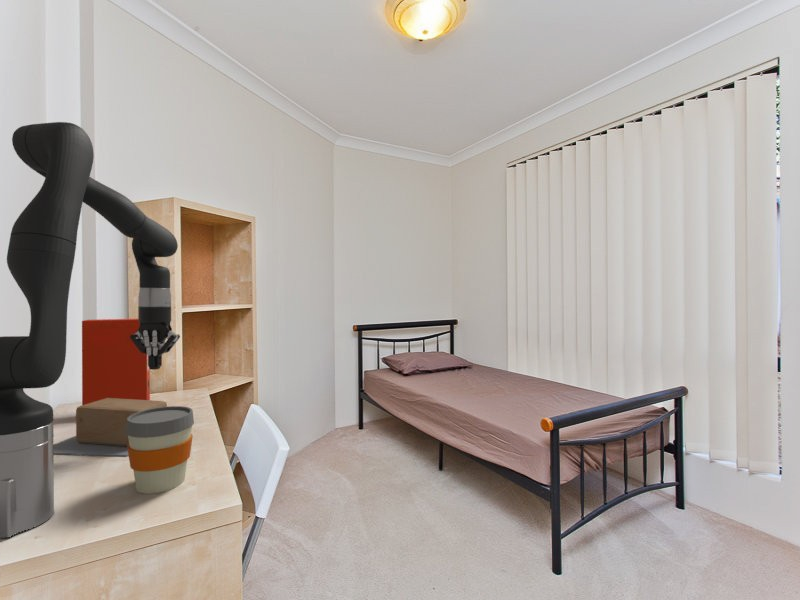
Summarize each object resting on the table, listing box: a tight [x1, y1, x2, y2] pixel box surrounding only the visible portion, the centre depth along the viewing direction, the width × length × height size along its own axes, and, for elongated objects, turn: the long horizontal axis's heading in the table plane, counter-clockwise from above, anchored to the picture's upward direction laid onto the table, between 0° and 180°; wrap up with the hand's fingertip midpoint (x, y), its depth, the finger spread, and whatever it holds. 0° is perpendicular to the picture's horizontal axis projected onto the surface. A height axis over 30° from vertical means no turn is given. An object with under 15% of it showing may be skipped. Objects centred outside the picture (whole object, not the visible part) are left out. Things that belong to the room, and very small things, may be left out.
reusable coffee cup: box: [126, 405, 195, 495], centre depth 84 cm, size 13×13×15 cm
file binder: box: [81, 318, 151, 406], centre depth 131 cm, size 8×17×32 cm, turn 116°
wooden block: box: [75, 398, 168, 446], centre depth 108 cm, size 10×10×20 cm
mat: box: [53, 435, 129, 457], centre depth 106 cm, size 16×24×1 cm, turn 87°
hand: (155, 369), depth 105 cm, fingers closed
